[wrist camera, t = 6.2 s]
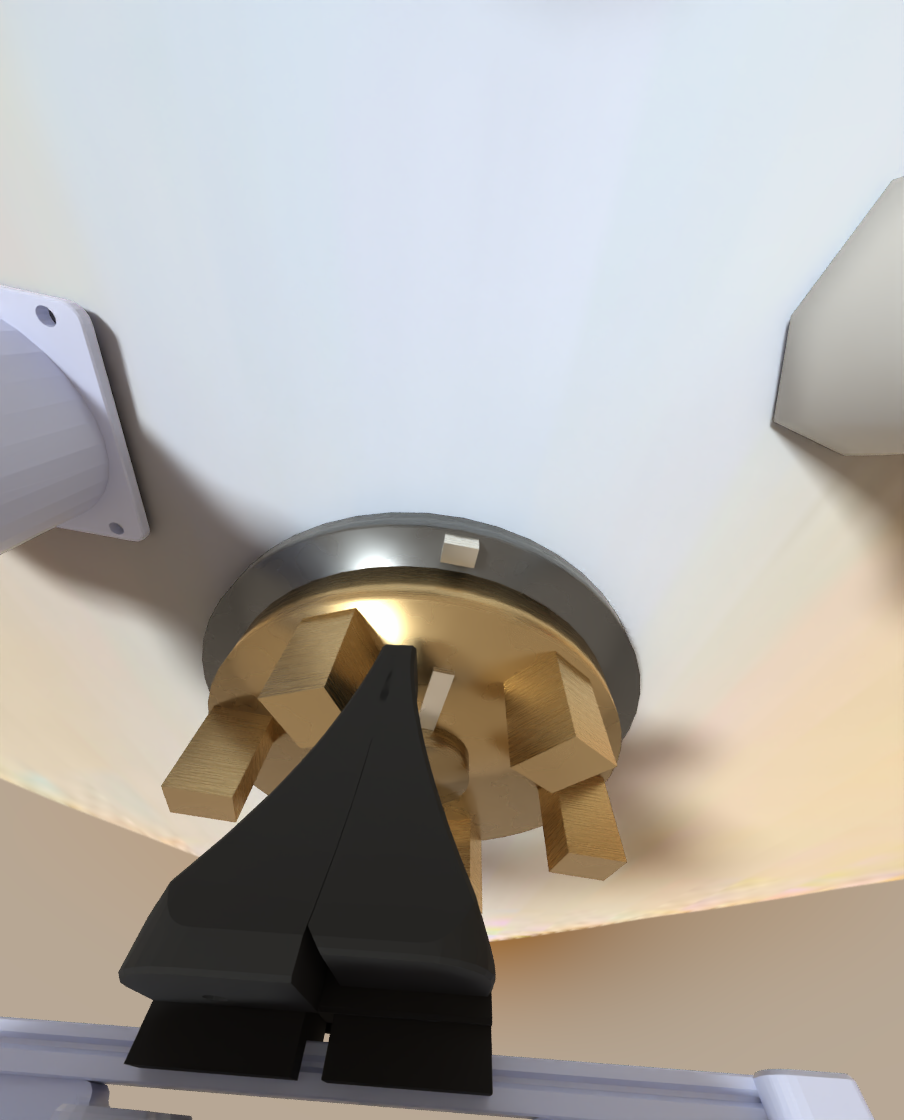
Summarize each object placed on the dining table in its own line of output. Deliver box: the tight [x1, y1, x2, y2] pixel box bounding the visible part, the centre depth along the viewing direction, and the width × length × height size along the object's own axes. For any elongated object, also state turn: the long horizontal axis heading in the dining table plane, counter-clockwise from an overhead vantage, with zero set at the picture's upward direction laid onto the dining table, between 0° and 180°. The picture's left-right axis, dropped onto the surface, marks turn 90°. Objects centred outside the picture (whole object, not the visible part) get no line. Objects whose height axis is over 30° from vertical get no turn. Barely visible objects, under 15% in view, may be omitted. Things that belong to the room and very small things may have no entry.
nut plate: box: [202, 512, 640, 741], centre depth 19 cm, size 21×21×2 cm
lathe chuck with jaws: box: [161, 566, 627, 914], centre depth 17 cm, size 18×18×5 cm
